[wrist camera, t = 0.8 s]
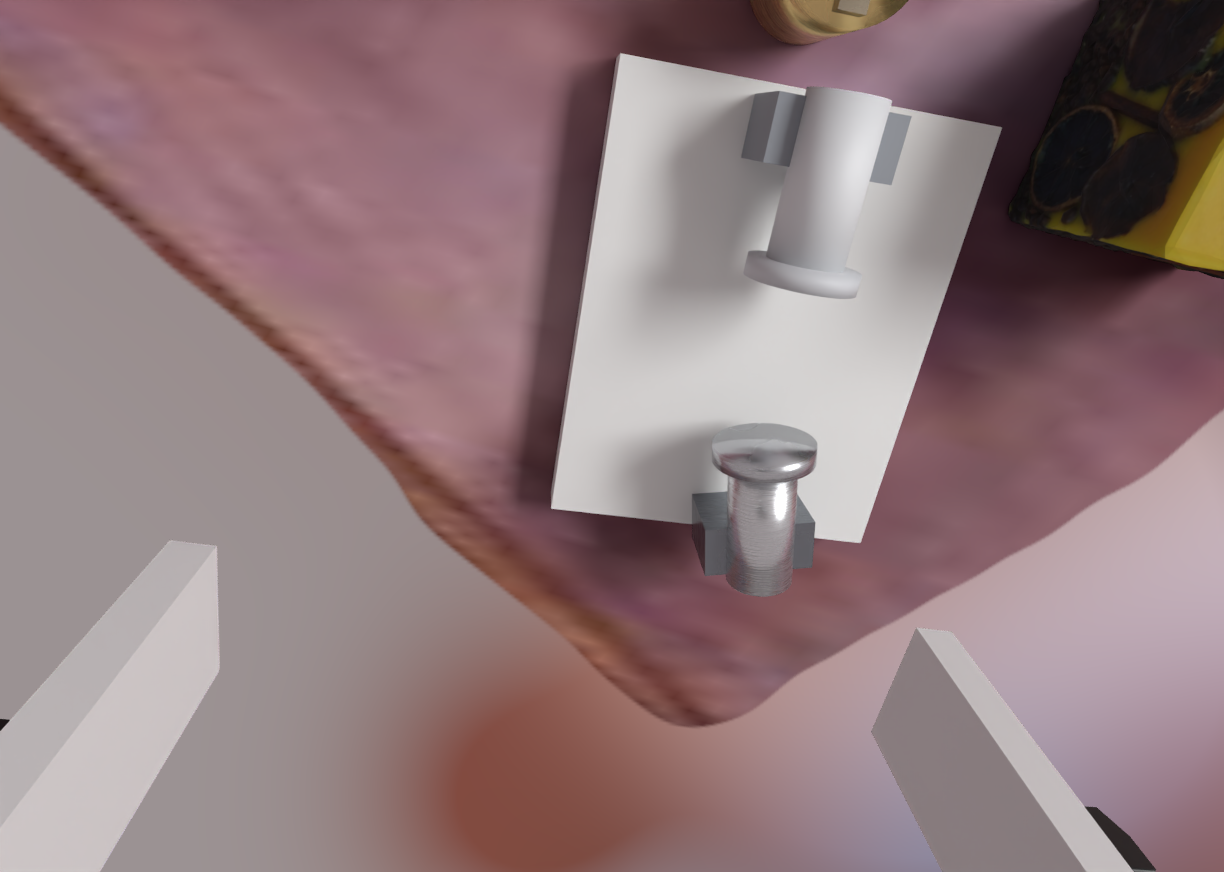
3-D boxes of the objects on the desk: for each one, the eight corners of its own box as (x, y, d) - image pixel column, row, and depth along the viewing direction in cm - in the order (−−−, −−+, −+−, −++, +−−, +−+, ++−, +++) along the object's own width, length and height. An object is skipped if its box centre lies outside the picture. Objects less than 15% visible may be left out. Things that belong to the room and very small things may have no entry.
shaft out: (691, 416, 35) (716, 469, 29) (797, 409, 35) (840, 460, 30) (691, 541, 37) (714, 610, 32) (789, 533, 37) (827, 601, 32)
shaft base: (616, 57, 30) (635, 38, 23) (976, 126, 32) (1095, 129, 25) (551, 489, 38) (550, 575, 31) (846, 523, 40) (909, 610, 33)
